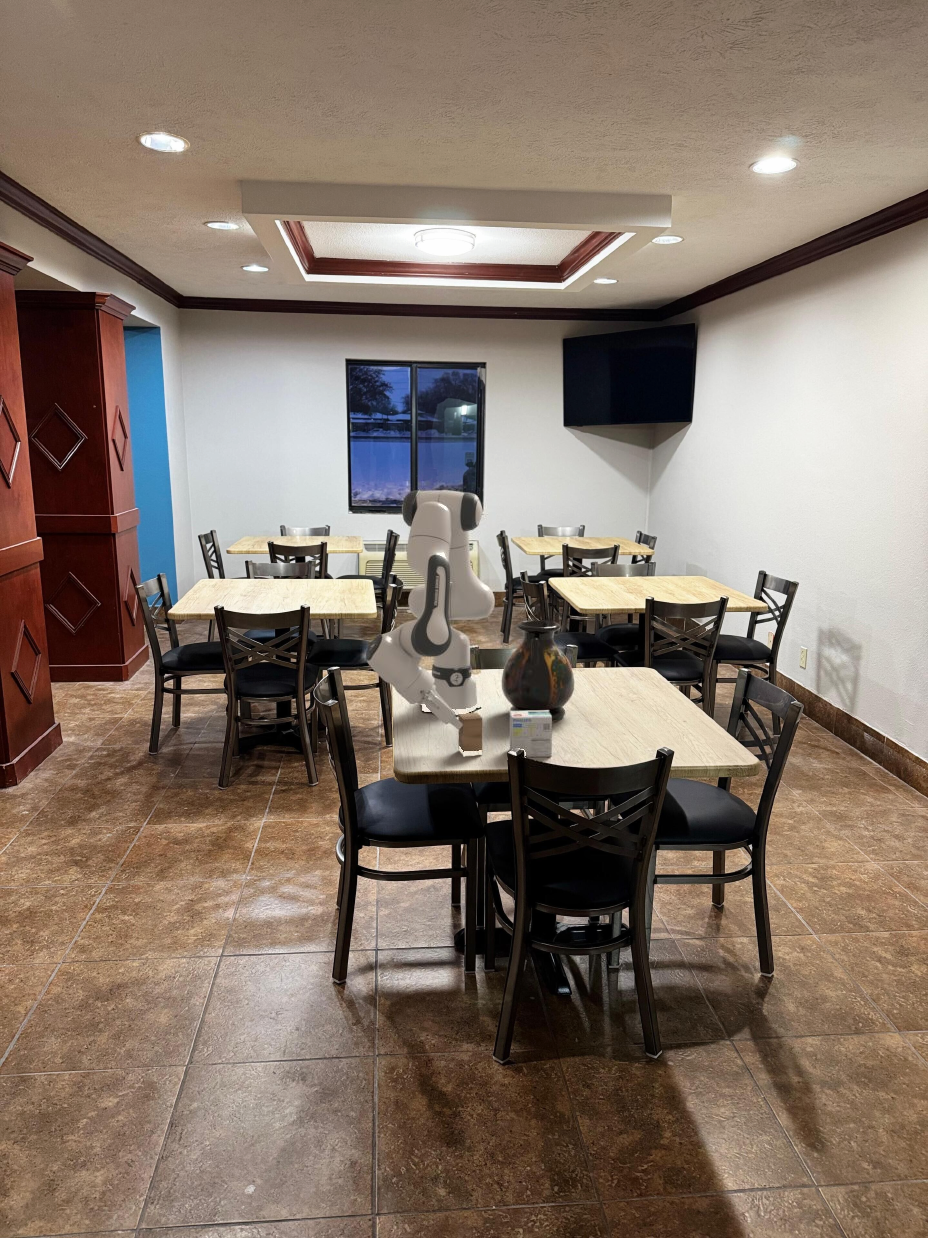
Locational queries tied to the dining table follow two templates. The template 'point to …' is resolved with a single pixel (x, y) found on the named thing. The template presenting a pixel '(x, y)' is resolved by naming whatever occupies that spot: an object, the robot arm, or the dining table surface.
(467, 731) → the walnut block
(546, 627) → the dark painted vase
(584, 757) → the dining table surface
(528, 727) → the light bulb box
